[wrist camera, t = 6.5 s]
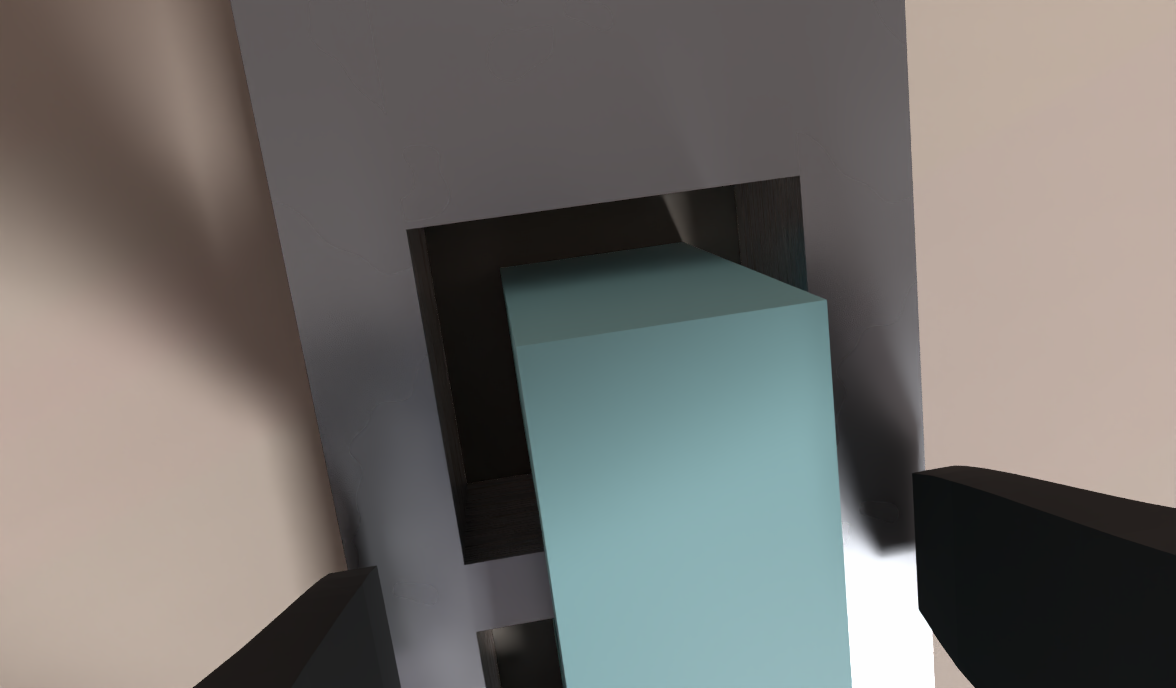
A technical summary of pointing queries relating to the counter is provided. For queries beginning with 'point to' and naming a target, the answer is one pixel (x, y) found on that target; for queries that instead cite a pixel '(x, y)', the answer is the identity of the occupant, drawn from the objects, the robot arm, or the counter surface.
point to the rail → (566, 179)
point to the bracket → (682, 470)
